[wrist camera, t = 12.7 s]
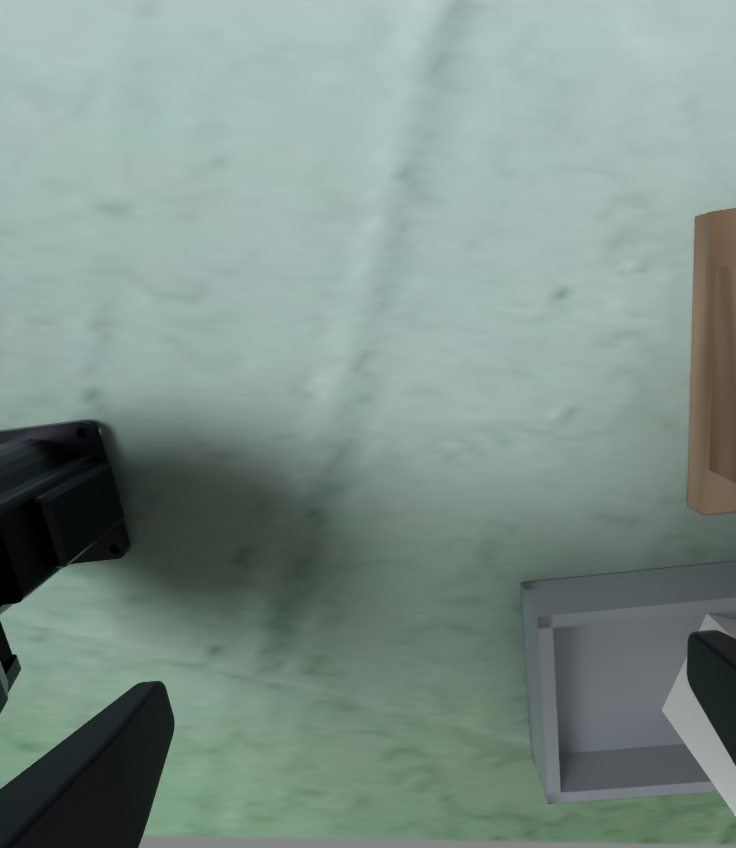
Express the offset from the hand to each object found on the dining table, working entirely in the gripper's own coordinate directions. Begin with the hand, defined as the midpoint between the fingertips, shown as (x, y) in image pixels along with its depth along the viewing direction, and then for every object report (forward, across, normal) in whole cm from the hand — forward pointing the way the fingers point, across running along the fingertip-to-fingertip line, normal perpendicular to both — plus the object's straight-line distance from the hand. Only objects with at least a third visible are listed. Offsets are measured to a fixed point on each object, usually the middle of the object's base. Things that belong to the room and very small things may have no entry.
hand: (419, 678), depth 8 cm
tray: (+13, -13, +12) cm, 22 cm away
